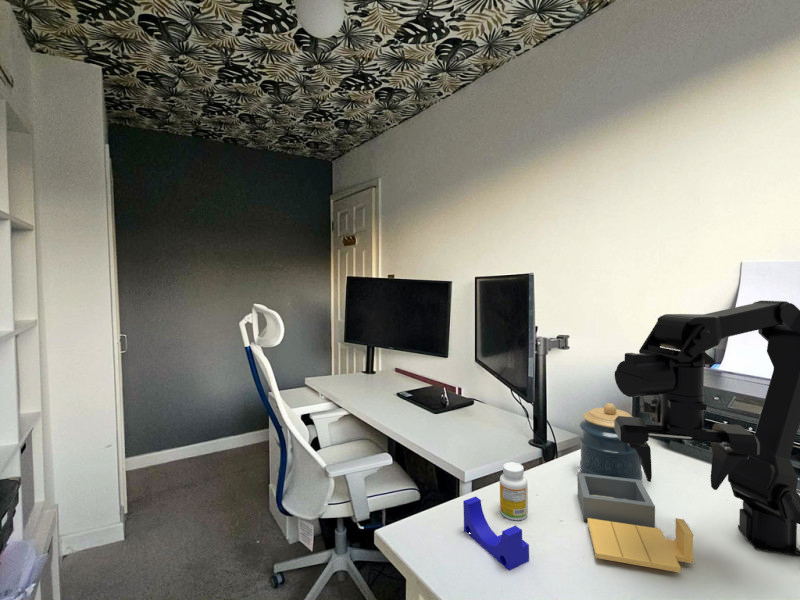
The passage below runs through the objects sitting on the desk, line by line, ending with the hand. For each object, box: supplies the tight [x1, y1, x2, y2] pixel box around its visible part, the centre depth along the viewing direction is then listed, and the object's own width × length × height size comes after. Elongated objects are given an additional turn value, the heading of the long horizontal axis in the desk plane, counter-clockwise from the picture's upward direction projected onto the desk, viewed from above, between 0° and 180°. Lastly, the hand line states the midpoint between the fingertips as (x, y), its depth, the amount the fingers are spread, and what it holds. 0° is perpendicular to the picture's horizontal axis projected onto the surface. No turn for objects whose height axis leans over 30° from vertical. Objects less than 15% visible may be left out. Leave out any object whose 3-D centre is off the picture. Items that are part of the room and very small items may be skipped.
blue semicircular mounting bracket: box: [462, 495, 530, 571], centre depth 70 cm, size 12×4×6 cm, turn 28°
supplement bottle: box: [499, 461, 529, 521], centre depth 79 cm, size 5×5×10 cm
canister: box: [579, 402, 643, 481], centre depth 93 cm, size 13×13×18 cm
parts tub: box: [577, 472, 656, 528], centre depth 79 cm, size 12×10×5 cm
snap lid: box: [587, 517, 694, 573], centre depth 67 cm, size 15×10×6 cm
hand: (680, 484), depth 65 cm, fingers open, 9 cm apart
